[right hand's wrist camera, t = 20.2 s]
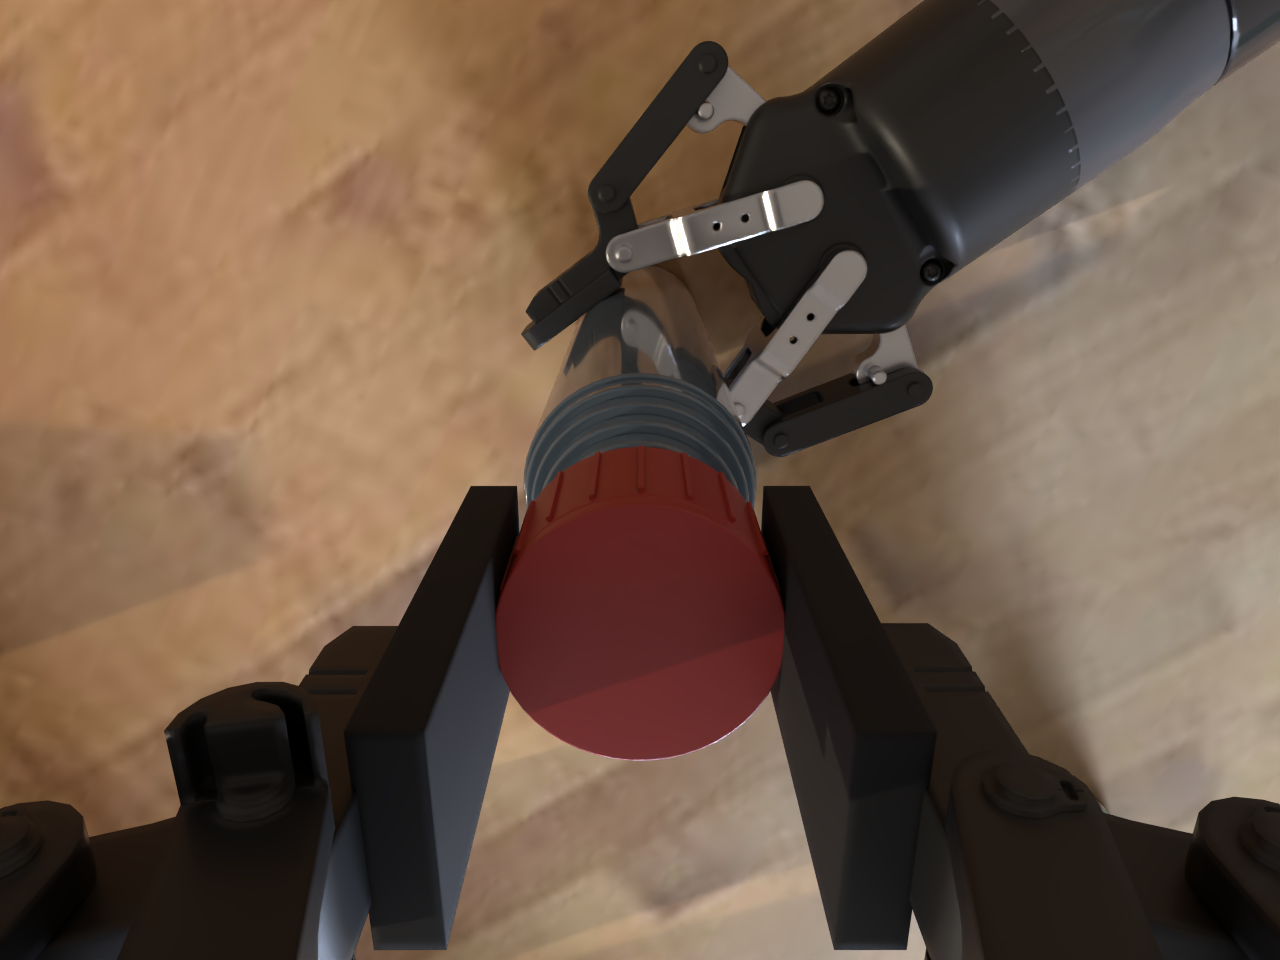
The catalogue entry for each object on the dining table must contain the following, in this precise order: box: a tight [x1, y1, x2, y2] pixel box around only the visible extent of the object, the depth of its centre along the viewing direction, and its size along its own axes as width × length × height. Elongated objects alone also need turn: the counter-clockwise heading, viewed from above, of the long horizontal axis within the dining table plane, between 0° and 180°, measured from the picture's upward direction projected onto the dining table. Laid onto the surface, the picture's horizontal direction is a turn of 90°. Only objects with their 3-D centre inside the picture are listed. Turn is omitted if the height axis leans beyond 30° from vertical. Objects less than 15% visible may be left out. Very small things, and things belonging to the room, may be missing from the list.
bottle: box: [524, 266, 757, 509], centre depth 24 cm, size 5×5×25 cm
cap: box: [496, 445, 785, 760], centre depth 13 cm, size 4×4×2 cm
